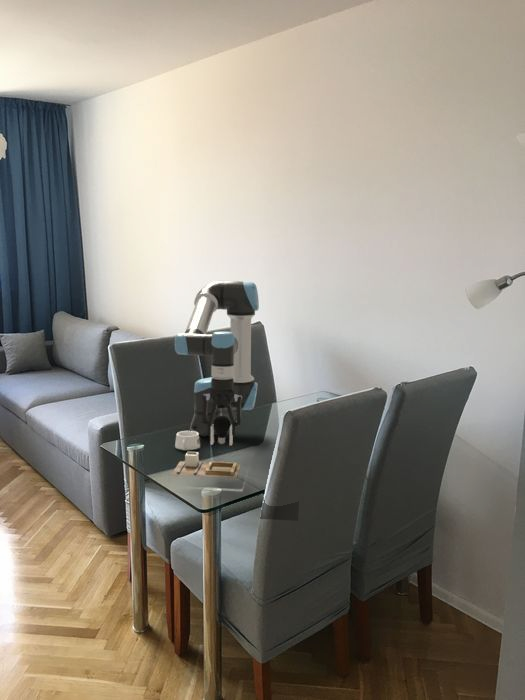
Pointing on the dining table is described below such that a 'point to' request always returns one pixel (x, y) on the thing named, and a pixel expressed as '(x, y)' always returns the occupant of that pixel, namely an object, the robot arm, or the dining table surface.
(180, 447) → the mug
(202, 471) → the wooden tray
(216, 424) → the light bulb
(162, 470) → the dining table surface
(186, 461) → the white block
